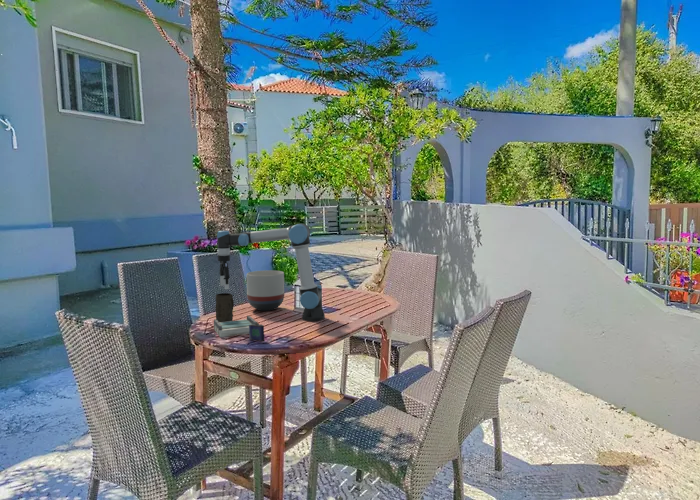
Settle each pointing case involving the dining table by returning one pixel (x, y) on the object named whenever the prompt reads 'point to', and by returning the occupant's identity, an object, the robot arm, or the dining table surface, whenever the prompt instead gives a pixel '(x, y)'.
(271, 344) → the dining table surface
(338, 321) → the dining table surface
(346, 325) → the dining table surface
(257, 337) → the flask
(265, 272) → the planter
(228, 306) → the beer stein
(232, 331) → the tray
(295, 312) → the dining table surface
